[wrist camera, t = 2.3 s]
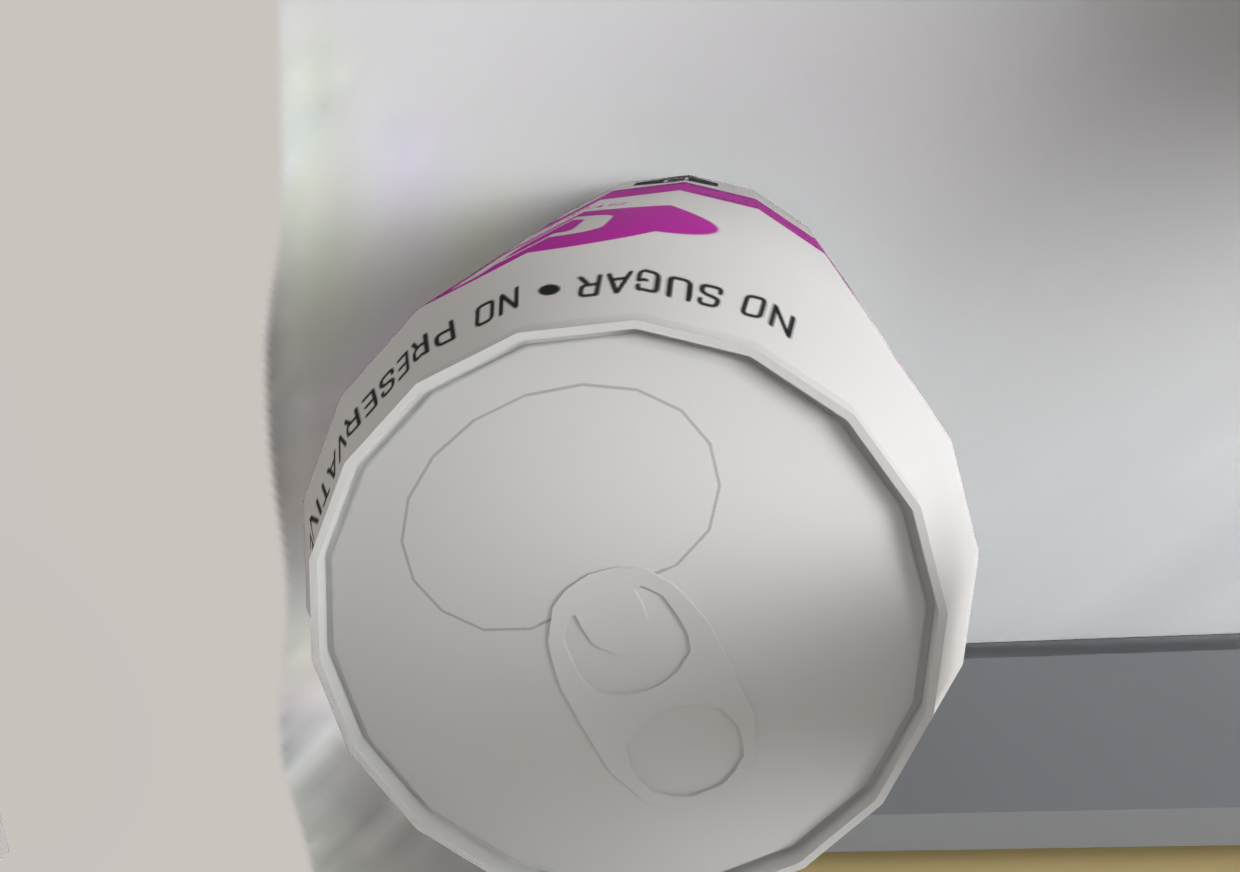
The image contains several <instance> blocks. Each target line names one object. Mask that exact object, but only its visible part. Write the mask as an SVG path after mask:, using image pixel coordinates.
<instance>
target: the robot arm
mask: <svg viewBox="0 0 1240 872" xmlns="http://www.w3.org/2000/svg"><path fill="white" fill-rule="evenodd" d="M8 852H9V847H8V843H7V839H6V835H5V831H4V828H3V823H2V820H1V816H0V860H1V859H2V858H3V857H4V856H5V855H6V854H7V853H8Z"/></svg>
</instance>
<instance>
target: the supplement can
mask: <svg viewBox="0 0 1240 872" xmlns="http://www.w3.org/2000/svg"><path fill="white" fill-rule="evenodd" d="M303 503H304V537H305V571H306V604H307V610H308V613H309V616H310V618H311V644H312V661H313V664H314V666H315V669H316V671H317V674H318V676H319V679H320V681H321V684H322V686H323V688H324V691H325V693H326V696H327V698H328V701H329V703H330V706H331V708H332V711H333V713H334V716H335V718H336V720H337V723H338V725H339V728H340V730H341V733H342V735H343V738H344V740H345V743H346V745H347V748H348V750H349V752H350V754H351V755H352V756H353V757H354V758H355V760H356V761H357V762H358V763H359V764H360V765H361V766H362V768H363V769H364V770H365V771H366V772H367V773H368V775H369V776H370V777H371V778H372V779H373V780H374V781H375V783H376V784H377V785H378V786H379V787H380V788H381V789H382V791H383V792H384V793H385V794H386V795H387V796H388V797H389V799H390V800H391V801H392V802H393V803H394V804H395V806H396V807H397V808H398V809H399V810H400V811H401V812H402V814H403V815H404V816H405V817H406V818H407V819H408V820H409V822H410V823H411V824H412V825H413V826H414V827H415V828H416V830H418V831H420V832H421V833H423V834H425V835H426V836H428V837H430V838H431V839H433V840H435V841H436V842H438V843H439V844H441V845H443V846H444V847H446V848H448V849H449V850H451V851H453V852H454V853H456V854H458V855H459V856H461V857H462V858H464V859H466V860H467V861H469V862H471V863H472V864H474V865H476V866H477V867H479V868H481V869H482V870H484V871H486V872H795V871H798V870H801V869H804V868H805V867H806V866H807V865H809V864H810V863H811V862H812V861H814V860H815V859H816V858H817V857H818V856H820V855H821V854H822V853H823V852H825V851H826V850H827V849H828V848H829V847H831V846H832V845H833V844H834V843H836V842H837V841H838V840H839V839H840V838H842V837H843V836H844V835H845V834H847V833H848V832H849V831H850V830H851V829H853V828H854V827H855V826H856V825H858V824H859V823H860V822H861V821H862V820H864V819H865V818H866V817H867V816H868V815H870V814H871V813H872V812H873V811H875V810H876V809H877V808H878V807H879V806H881V805H882V804H883V802H884V801H885V799H886V797H887V795H888V794H889V792H890V790H891V789H892V787H893V785H894V783H895V782H896V780H897V778H898V776H899V775H900V773H901V771H902V769H903V768H904V766H905V764H906V763H907V761H908V759H909V757H910V756H911V754H912V752H913V750H914V749H915V747H916V745H917V743H918V742H919V740H920V738H921V737H922V735H923V733H924V731H925V730H926V728H927V726H928V724H929V723H930V721H931V719H932V718H933V716H934V713H935V712H936V710H937V708H938V707H939V705H940V703H941V701H942V700H943V698H944V696H945V694H946V693H947V691H948V689H949V687H950V686H951V684H952V682H953V681H954V679H955V677H956V675H957V674H958V672H959V670H960V668H961V667H962V665H963V660H964V653H965V646H966V639H967V633H968V626H969V619H970V612H971V605H972V599H973V592H974V585H975V578H976V572H977V565H978V558H979V552H978V547H977V543H976V539H975V535H974V531H973V527H972V523H971V519H970V515H969V510H968V506H967V502H966V498H965V494H964V490H963V486H962V482H961V478H960V474H959V469H958V465H957V461H956V457H955V453H954V449H953V445H952V441H951V439H950V438H949V436H948V435H947V433H946V432H945V430H944V429H943V427H942V426H941V424H940V423H939V421H938V420H937V418H936V417H935V415H934V414H933V412H932V411H931V409H930V408H929V406H928V405H927V403H926V402H925V400H924V398H923V397H922V395H921V394H920V392H919V391H918V389H917V388H916V386H915V385H914V383H913V382H912V380H911V379H910V377H909V376H908V374H907V373H906V371H905V370H904V368H903V367H902V365H901V364H900V362H899V361H898V359H897V358H896V356H895V355H894V353H893V352H892V350H891V349H890V347H889V346H888V344H887V343H886V341H885V340H884V338H883V337H882V335H881V334H880V332H879V331H878V329H877V328H876V326H875V324H874V323H873V321H872V320H871V318H870V317H869V315H868V314H867V312H866V311H865V309H864V308H863V306H862V305H861V303H860V302H859V300H858V299H857V297H856V296H855V294H854V293H853V291H852V290H851V288H850V287H849V285H848V284H847V282H846V281H845V279H844V278H843V276H842V275H841V274H840V272H839V271H838V269H837V268H836V267H835V265H834V264H833V262H832V261H831V259H830V258H829V257H828V255H827V254H826V252H825V251H824V250H823V248H822V247H821V245H820V244H819V242H818V241H817V240H816V238H815V237H814V235H813V234H812V233H811V231H810V230H809V228H808V227H807V226H805V225H804V224H802V223H801V222H799V221H798V220H796V219H795V218H794V217H792V216H791V215H789V214H788V213H786V212H785V211H783V210H782V209H780V208H779V207H777V206H776V205H774V204H773V203H771V202H770V201H768V200H767V199H765V198H764V197H762V196H761V195H759V194H758V193H756V192H755V191H754V190H750V189H746V188H742V187H737V186H733V185H729V184H725V183H721V182H717V181H712V180H708V179H704V178H700V177H696V176H691V175H684V176H676V177H668V178H660V179H652V180H644V181H636V182H627V183H623V184H621V185H619V186H617V187H615V188H613V189H611V190H609V191H607V192H606V193H604V194H602V195H600V196H598V197H596V198H594V199H592V200H590V201H588V202H586V203H584V204H583V205H581V206H579V207H577V208H575V209H573V210H571V211H569V212H567V213H565V214H564V215H562V216H561V217H559V218H558V219H556V220H555V221H553V222H552V223H550V224H549V225H547V226H546V227H544V228H542V229H541V230H539V231H538V232H536V233H535V234H533V235H532V236H530V237H529V238H527V239H526V240H524V241H522V242H521V243H519V244H518V245H516V246H515V247H513V248H512V249H510V250H509V251H507V252H506V253H504V254H502V255H501V256H499V257H498V258H496V259H495V260H493V261H492V262H490V263H489V264H487V265H486V266H484V267H482V268H481V269H479V270H478V271H476V272H475V273H473V274H472V275H470V276H469V277H467V278H466V279H464V280H462V281H461V282H459V283H458V284H456V285H455V286H453V287H452V288H450V289H449V290H447V291H446V292H444V293H443V294H441V295H439V296H438V297H436V298H435V299H433V300H432V301H430V302H429V303H427V304H426V305H424V306H423V307H421V308H419V309H418V310H416V312H415V313H414V314H413V315H412V316H411V317H410V318H409V319H408V321H407V322H406V323H405V324H404V325H403V326H402V327H401V329H400V330H399V331H398V332H397V333H396V334H395V335H394V337H393V338H392V339H391V340H390V341H389V342H388V343H387V344H386V346H385V347H384V348H383V349H382V350H381V351H380V352H379V354H378V355H377V356H376V357H375V358H374V359H373V360H372V362H371V363H370V364H369V365H368V366H367V367H366V368H365V369H364V371H363V372H362V373H361V374H360V375H359V376H358V377H357V379H356V380H355V381H354V382H353V383H352V384H351V385H350V387H349V388H348V389H347V390H346V391H345V392H344V393H343V394H342V396H341V397H340V399H339V402H338V405H337V408H336V411H335V413H334V416H333V419H332V422H331V425H330V427H329V430H328V433H327V436H326V439H325V441H324V444H323V447H322V450H321V453H320V455H319V458H318V461H317V464H316V467H315V469H314V472H313V475H312V478H311V481H310V483H309V486H308V489H307V492H306V495H305V497H304V500H303Z"/></svg>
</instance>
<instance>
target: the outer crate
mask: <svg viewBox="0 0 1240 872" xmlns="http://www.w3.org/2000/svg"><path fill="white" fill-rule="evenodd" d="M1206 845H1240V634H1218V635H1191V636H1164V637H1136V638H1109V639H1081V640H1054V641H1026V642H999V643H971V644H966V646H965V653H964V660H963V665H962V667H961V668H960V670H959V672H958V674H957V675H956V677H955V679H954V681H953V682H952V684H951V686H950V687H949V689H948V691H947V693H946V694H945V696H944V698H943V700H942V701H941V703H940V705H939V707H938V708H937V710H936V712H935V713H934V716H933V718H932V719H931V721H930V723H929V724H928V726H927V728H926V730H925V731H924V733H923V735H922V737H921V738H920V740H919V742H918V743H917V745H916V747H915V749H914V750H913V752H912V754H911V756H910V757H909V759H908V761H907V763H906V764H905V766H904V768H903V769H902V771H901V773H900V775H899V776H898V778H897V780H896V782H895V783H894V785H893V787H892V789H891V790H890V792H889V794H888V795H887V797H886V799H885V801H884V802H883V804H882V805H881V806H879V807H878V808H877V809H876V810H875V811H873V812H872V813H871V814H870V815H868V816H867V817H866V818H865V819H864V820H862V821H861V822H860V823H859V824H858V825H856V826H855V827H854V828H853V829H851V830H850V831H849V832H848V833H847V834H845V835H844V836H843V837H842V838H840V839H839V840H838V841H837V842H836V843H834V844H833V845H832V846H831V847H829V848H828V849H827V850H826V851H825V852H854V851H912V850H971V849H1030V848H1089V847H1148V846H1206Z"/></svg>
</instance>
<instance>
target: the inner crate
mask: <svg viewBox="0 0 1240 872" xmlns="http://www.w3.org/2000/svg"><path fill="white" fill-rule="evenodd" d="M795 872H1240V845H1206V846H1148V847H1089V848H1030V849H971V850H912V851H854V852H823V853H822V854H821V855H820V856H818V857H817V858H816V859H815V860H814V861H812V862H811V863H810V864H809V865H807V866H806V867H805V868H804V869H801V870H798V871H795Z"/></svg>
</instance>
